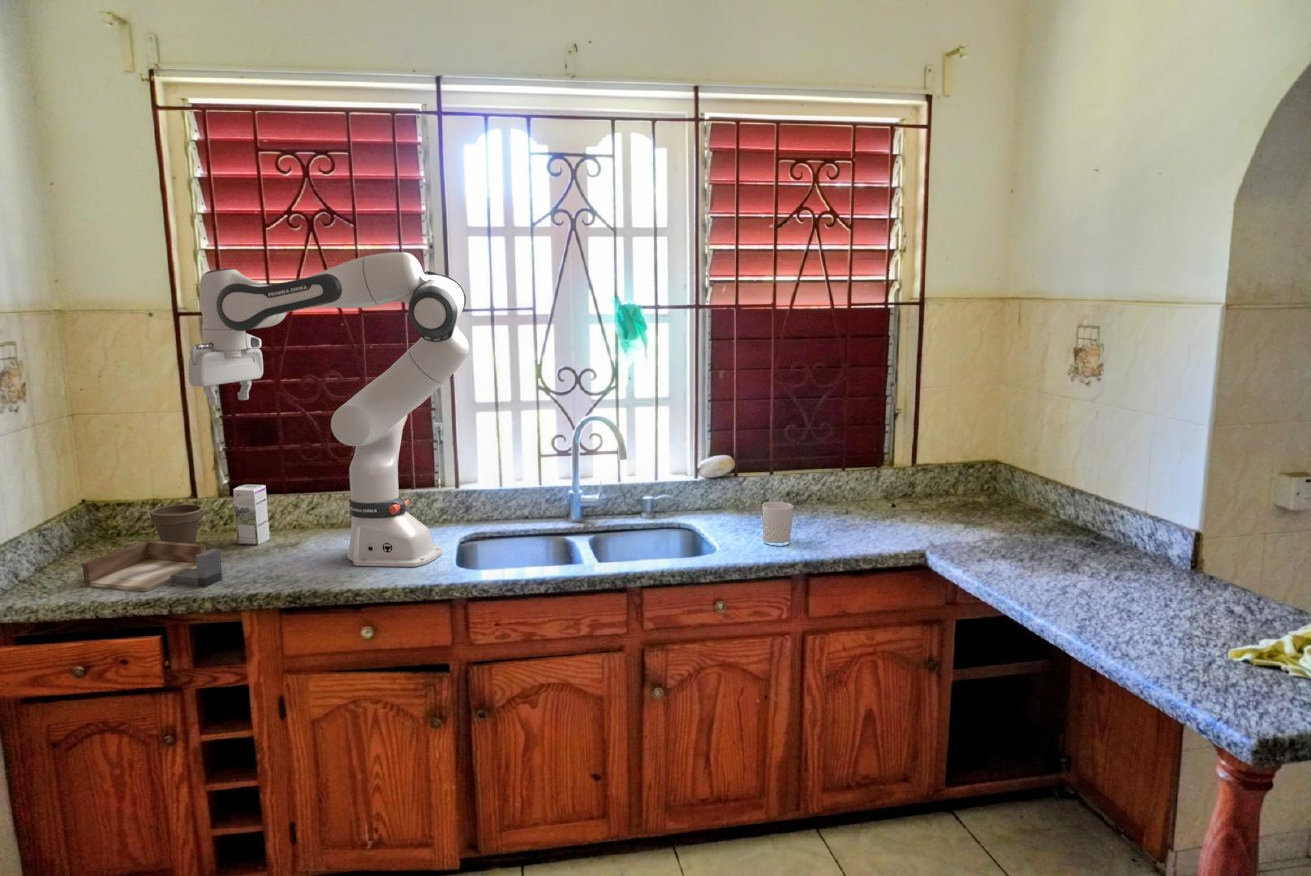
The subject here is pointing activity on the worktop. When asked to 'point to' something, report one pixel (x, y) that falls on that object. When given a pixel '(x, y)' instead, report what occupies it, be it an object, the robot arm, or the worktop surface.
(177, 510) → the flower pot
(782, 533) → the white cup
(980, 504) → the worktop surface
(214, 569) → the angle bracket
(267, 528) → the syrup box
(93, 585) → the corner arena
